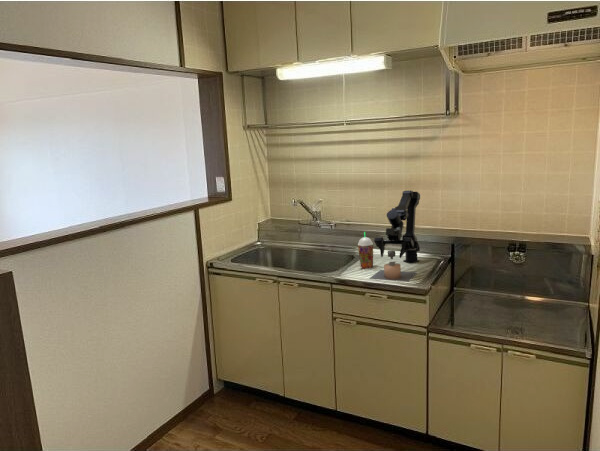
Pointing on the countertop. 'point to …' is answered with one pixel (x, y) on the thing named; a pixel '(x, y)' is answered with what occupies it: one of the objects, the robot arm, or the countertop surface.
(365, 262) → the smoothie
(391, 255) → the pump head
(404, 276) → the drip mat
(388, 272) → the pump bottle
